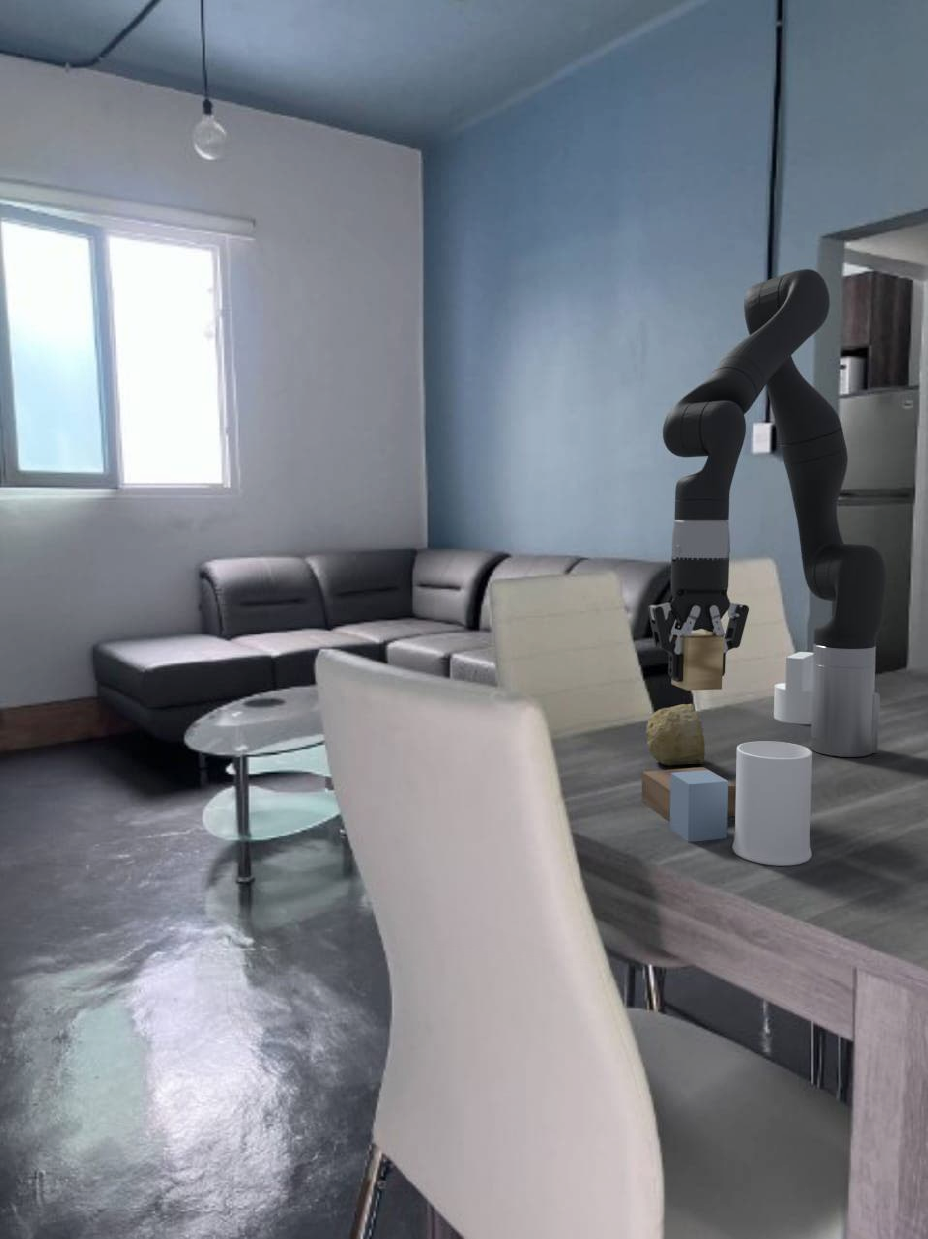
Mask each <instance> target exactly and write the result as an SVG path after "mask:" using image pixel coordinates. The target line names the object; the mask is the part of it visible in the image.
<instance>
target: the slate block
mask: <svg viewBox="0 0 928 1239" xmlns="http://www.w3.org/2000/svg"><path fill="white" fill-rule="evenodd" d="M714 773H715V772H713V771H711V770H710V771H709V769H708V770H702V771H689V772H676V773H670V821H669V829H670V830H672V831H673V832H674V833H676V834H677V836H679V837H681V838H682V839H683V840H685V841H686V842H687V843H690V842H701V841H702V842H703V841H710V840H722V839H728V817H727V808H728V781H729V780H728V781H727V779H726V778H724V777H722V776H720V775H719V776H718V774H717V773H715V774H714ZM716 774H717V775H716ZM721 777H722V778H721ZM723 778H724V779H723ZM725 779H726V780H725Z"/></svg>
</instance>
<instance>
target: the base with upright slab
mask: <svg viewBox="0 0 928 1239" xmlns="http://www.w3.org/2000/svg"><path fill="white" fill-rule="evenodd" d="M784 678H785V680H784V681H785V682H782V683H778V684H775V685H774V700H773V701H774V703H773V704H774V705H773V718H774V719H775V720H776V721H779V722H783V723H788V724H790V723H791V724H800V725H811V717H812V684H813V652H807V651H797V652H796V653H793V654H791V655H789V656H786V657H785V677H784Z"/></svg>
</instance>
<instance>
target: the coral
mask: <svg viewBox="0 0 928 1239" xmlns="http://www.w3.org/2000/svg"><path fill="white" fill-rule="evenodd" d="M645 733H646V740H647V743H646V745H647V747H648V748H649V753H650V754H651V756H653V758H655V760H656V761H658V762H659V763H660V764H663V765H665V766H668V767H672V766H677V765H680V766H681V765H695V764H703V763H704V760H705V754H706V752H705V750H706V746H705V738H704V727H702V719H701V717H700V715H699V713H698V711H697V710H696V707H695V706H694V704H693V703H688V704H685V703H683V704H678V705H674V706H670V707H663V708H660V709H657V711H654V712H653V713H652V714H651V716H649V719H648V720H647V724H646V727H645Z"/></svg>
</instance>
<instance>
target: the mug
mask: <svg viewBox="0 0 928 1239" xmlns="http://www.w3.org/2000/svg"><path fill="white" fill-rule="evenodd" d="M735 765H736V766H735V767H736V768H735V772H736V773H735V775H736V776H735V785H736V810H735V816H734V818H735V819H734V821H735V822H734V823H735V824H734V839H733V843H732V845H731V846H732V851H733V852H734V854H735V855H737V856H738V857H740V858H741V859H744V860H746V861H749V862H751V863H752V862H753V863H756V864H761V865H767V866H777V867H787V866H788V867H789V866H790V867H791V866H796V865H797V866H798V865H801V864H804V863H806V862H808V861H810V860H811V858H812V850H811V838H810V837H811V836H810V835H811V804H812V802H811V801H812V800H811V799H812V770H813V767H812V766H813V750H812V749H811V748H808V747H805V746H803V745H800V744H794V743H789V742H782V741H772V740H769V741H768V740H766V741H765V740H762V741H761V740H759V741H748V742H744V743H741V744H738V745H737V746H736V764H735Z"/></svg>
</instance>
